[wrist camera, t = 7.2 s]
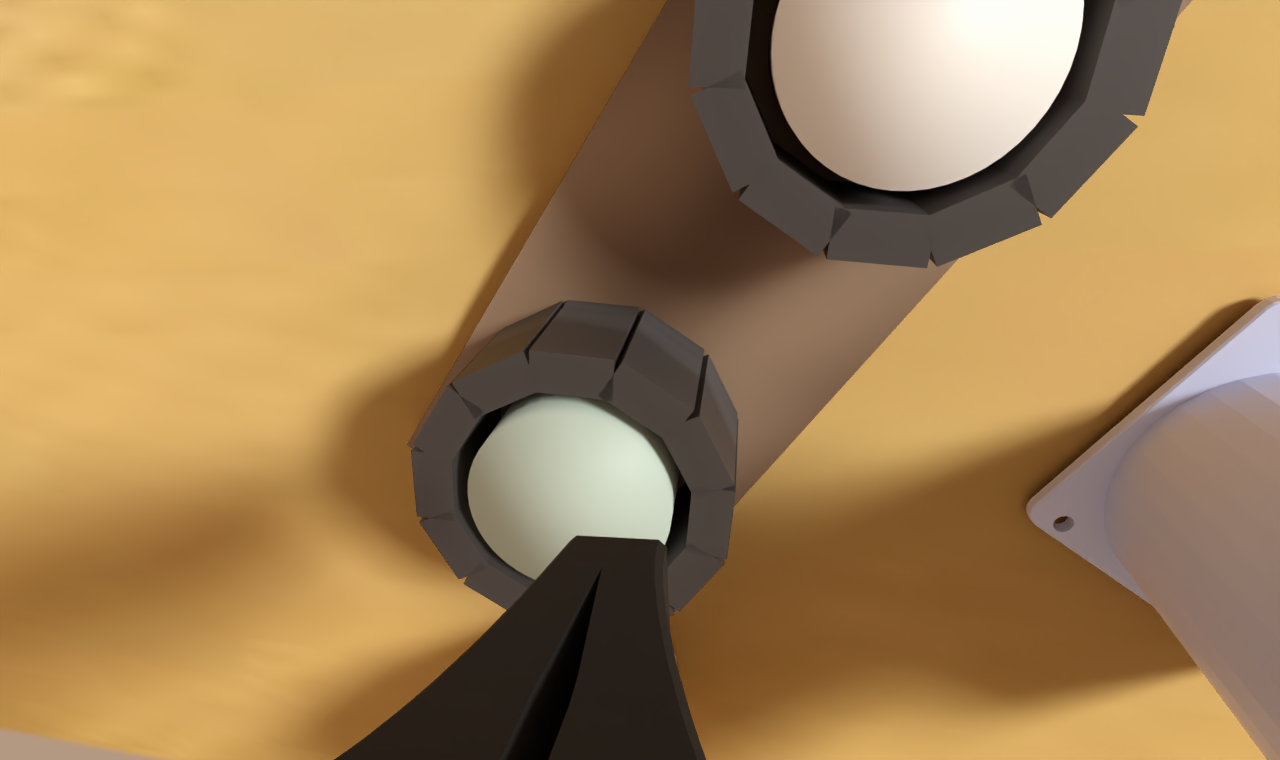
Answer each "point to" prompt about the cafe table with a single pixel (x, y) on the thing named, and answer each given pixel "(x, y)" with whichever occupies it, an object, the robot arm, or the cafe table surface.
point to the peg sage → (568, 479)
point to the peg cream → (918, 82)
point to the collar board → (738, 268)
